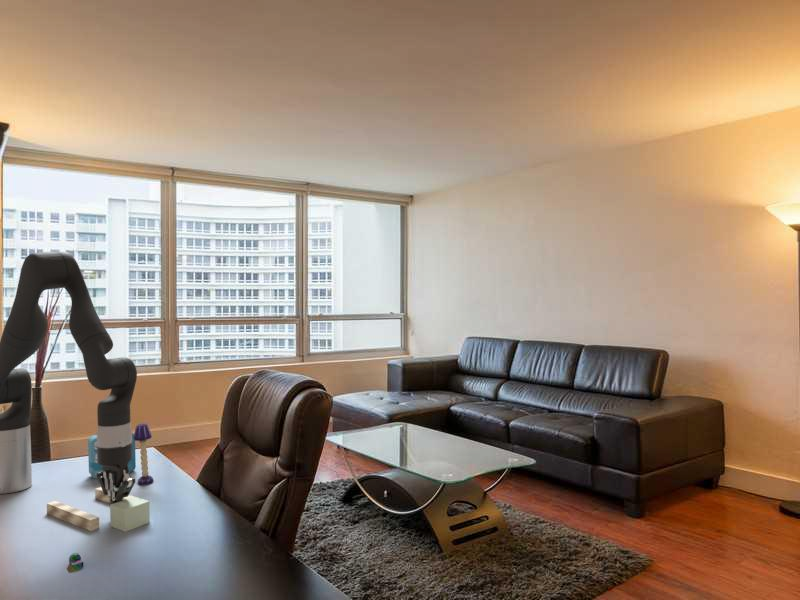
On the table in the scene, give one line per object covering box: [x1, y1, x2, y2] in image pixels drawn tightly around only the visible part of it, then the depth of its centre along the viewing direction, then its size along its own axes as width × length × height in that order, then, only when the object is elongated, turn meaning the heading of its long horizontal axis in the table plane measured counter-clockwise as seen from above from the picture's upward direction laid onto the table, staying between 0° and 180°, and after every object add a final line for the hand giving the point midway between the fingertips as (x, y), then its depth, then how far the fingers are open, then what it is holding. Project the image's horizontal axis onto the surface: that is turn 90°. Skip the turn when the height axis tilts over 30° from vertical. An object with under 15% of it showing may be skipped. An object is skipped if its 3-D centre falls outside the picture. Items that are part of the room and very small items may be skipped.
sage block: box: [109, 496, 151, 533], centre depth 134 cm, size 6×6×5 cm
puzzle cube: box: [66, 552, 85, 573], centre depth 113 cm, size 4×3×2 cm, turn 40°
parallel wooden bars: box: [46, 486, 145, 532], centre depth 142 cm, size 20×14×2 cm
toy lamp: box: [133, 423, 154, 486], centre depth 163 cm, size 5×5×17 cm
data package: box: [87, 432, 137, 480], centre depth 172 cm, size 12×4×12 cm, turn 128°
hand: (116, 514), depth 137 cm, fingers closed
